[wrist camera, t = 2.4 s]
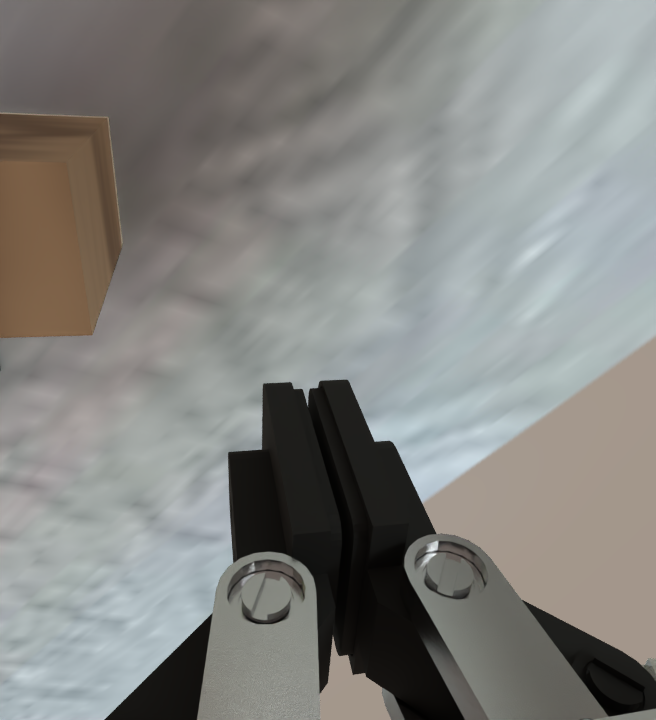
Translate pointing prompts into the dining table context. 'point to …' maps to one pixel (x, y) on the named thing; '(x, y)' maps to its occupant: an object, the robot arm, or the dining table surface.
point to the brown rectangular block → (56, 223)
